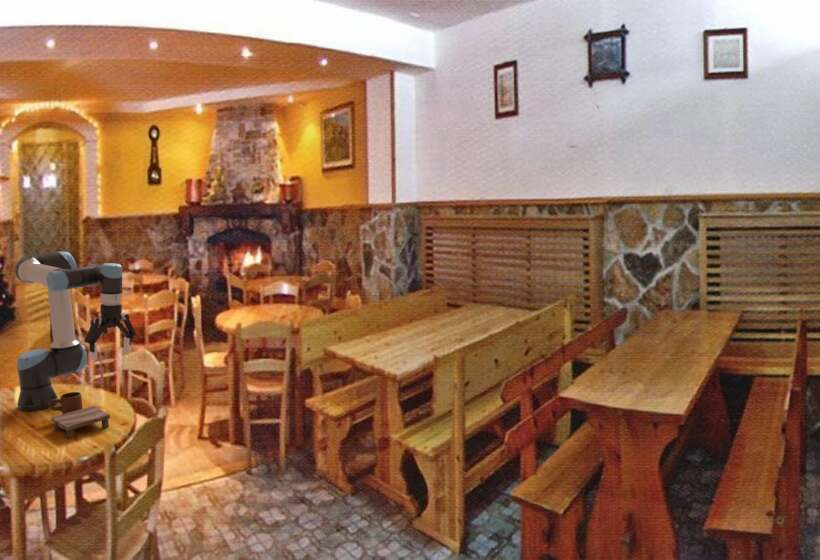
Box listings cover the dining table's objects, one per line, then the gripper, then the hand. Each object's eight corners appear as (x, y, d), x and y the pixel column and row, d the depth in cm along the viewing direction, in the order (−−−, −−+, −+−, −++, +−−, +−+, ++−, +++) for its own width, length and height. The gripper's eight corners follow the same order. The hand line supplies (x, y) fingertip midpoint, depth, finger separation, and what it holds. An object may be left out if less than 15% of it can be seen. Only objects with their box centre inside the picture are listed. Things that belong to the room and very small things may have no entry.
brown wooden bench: (52, 429, 251) (51, 417, 251) (94, 417, 263) (93, 405, 262) (67, 439, 242) (66, 427, 241) (111, 426, 253) (109, 414, 252)
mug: (51, 424, 257) (48, 401, 255) (49, 418, 263) (46, 396, 261) (84, 417, 264) (82, 395, 262) (81, 412, 270) (79, 390, 268)
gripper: (85, 309, 238) (85, 364, 242) (145, 301, 259) (144, 353, 263) (74, 305, 242) (74, 360, 246) (134, 298, 263) (133, 349, 266)
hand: (110, 356), depth 254 cm, fingers open, 13 cm apart
